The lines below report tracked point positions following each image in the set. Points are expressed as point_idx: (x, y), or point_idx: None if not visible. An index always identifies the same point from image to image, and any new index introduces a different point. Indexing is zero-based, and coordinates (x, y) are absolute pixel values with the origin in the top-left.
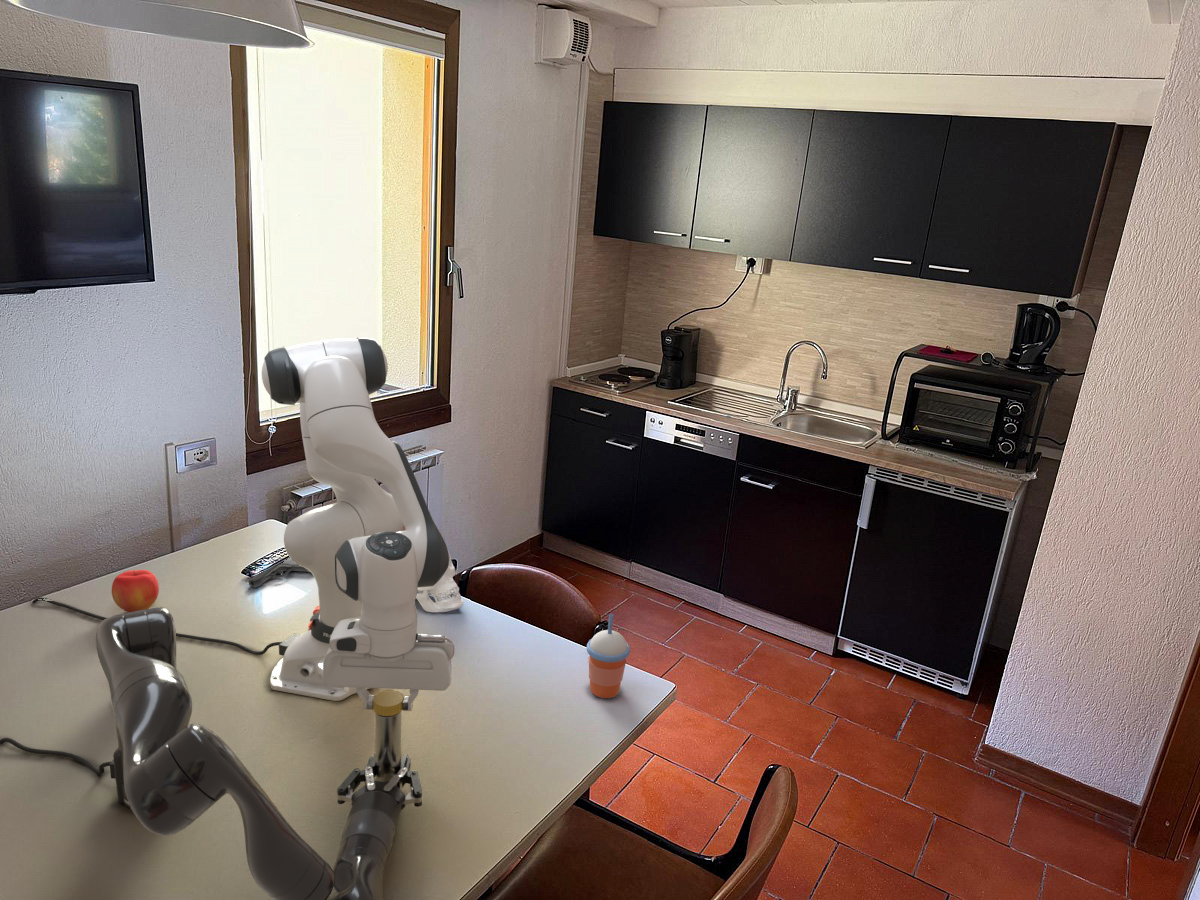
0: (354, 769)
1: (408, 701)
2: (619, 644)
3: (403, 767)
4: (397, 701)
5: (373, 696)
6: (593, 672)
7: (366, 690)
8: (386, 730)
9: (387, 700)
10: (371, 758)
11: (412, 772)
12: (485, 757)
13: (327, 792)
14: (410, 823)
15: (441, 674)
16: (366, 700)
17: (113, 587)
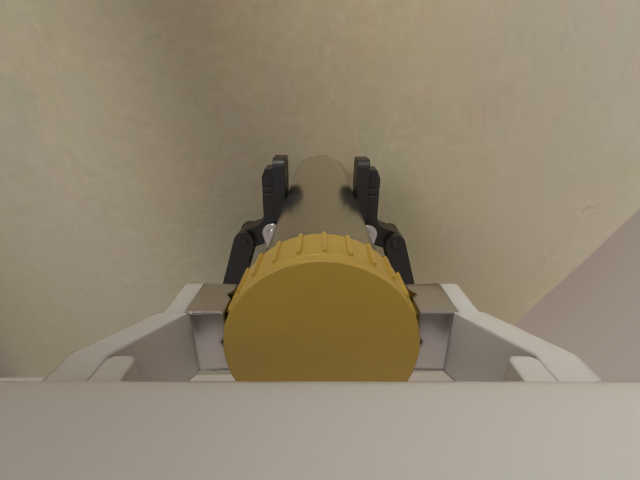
0: (236, 237)
1: (453, 378)
2: None
3: (364, 221)
4: (384, 379)
5: (218, 323)
6: None
7: (152, 342)
8: None
9: (320, 371)
10: (268, 178)
11: (392, 246)
12: (554, 3)
13: (186, 161)
14: (374, 244)
15: None
16: (190, 375)
17: None
